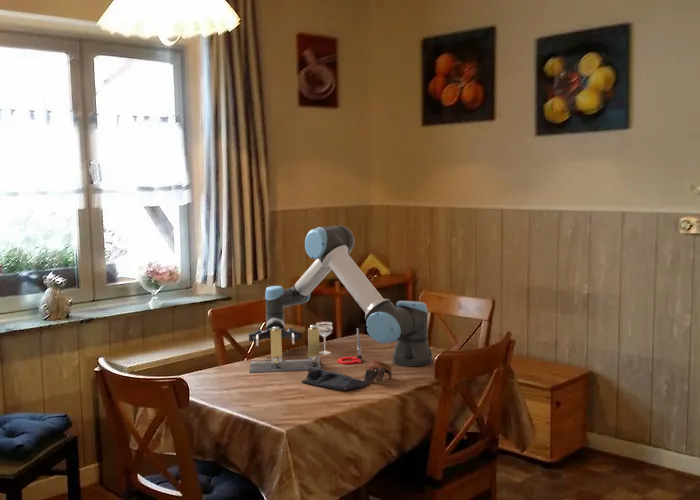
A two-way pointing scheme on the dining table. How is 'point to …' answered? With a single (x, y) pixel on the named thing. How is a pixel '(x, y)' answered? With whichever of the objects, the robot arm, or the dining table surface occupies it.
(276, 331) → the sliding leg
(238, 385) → the dining table surface
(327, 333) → the wineglass
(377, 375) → the brown crumpled piece
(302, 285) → the robot arm
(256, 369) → the bolt plate
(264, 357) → the dining table surface
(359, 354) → the tow hook
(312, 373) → the dark folded cloth
